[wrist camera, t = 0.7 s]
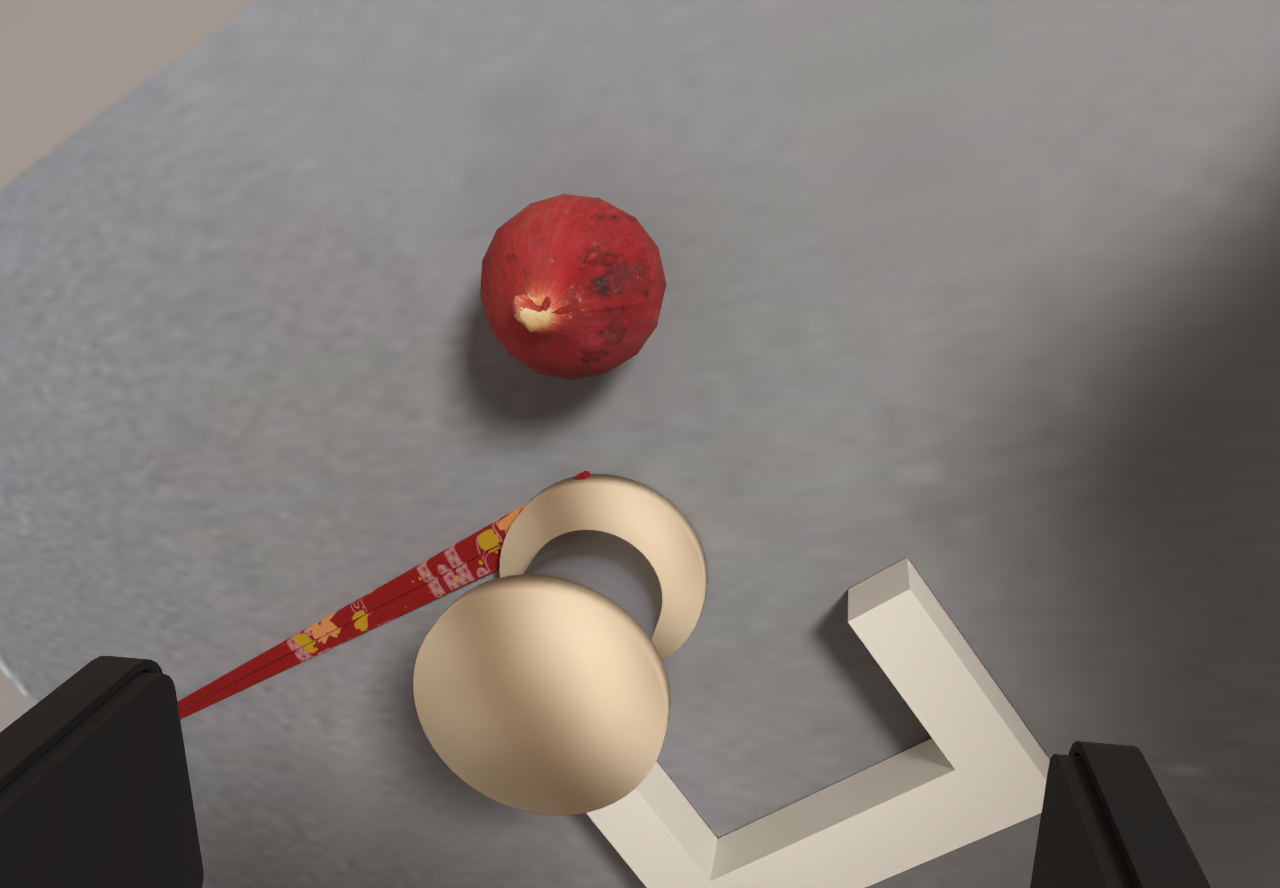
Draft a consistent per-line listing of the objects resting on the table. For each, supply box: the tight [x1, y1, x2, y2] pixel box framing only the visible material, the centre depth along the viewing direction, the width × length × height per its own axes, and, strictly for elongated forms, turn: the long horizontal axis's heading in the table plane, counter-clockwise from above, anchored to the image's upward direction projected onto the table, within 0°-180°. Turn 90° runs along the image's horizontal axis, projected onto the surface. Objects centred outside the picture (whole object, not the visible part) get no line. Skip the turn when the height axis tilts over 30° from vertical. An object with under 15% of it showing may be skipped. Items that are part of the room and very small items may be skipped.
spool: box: [413, 474, 707, 816], centre depth 36 cm, size 8×8×10 cm
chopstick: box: [177, 471, 590, 719], centre depth 44 cm, size 2×24×1 cm, turn 122°
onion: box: [480, 194, 666, 379], centre depth 33 cm, size 6×6×8 cm
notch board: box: [587, 558, 1050, 888], centre depth 41 cm, size 16×10×2 cm, turn 127°
